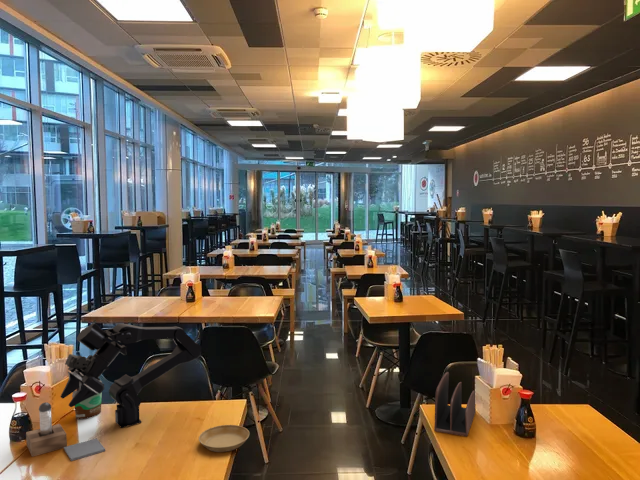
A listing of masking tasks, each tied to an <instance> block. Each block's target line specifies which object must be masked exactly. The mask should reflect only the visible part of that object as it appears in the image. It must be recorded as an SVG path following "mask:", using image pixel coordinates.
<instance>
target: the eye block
mask: <svg viewBox="0 0 640 480" xmlns="http://www.w3.org/2000/svg"><path fill="white" fill-rule="evenodd" d="M25 437H26V438H25V439H26V448H27V449H28V451H29V453H30V455H31V457H33V458H34V457H36V456H39V455H43V454H46V453H51V452H53V451H57V450H62V449H64V447H66V446H68V442H67V441H68V439H67V432H66V430H65V429H64V428H63V426H62V425H61V423H57V424H54V425H53V424H52V434H50V435H46V436H42V437H40V428H38V429H37V428H36V429H34V430H30V431H26V433H25Z"/></svg>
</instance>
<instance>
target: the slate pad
mask: <svg viewBox="0 0 640 480" xmlns="http://www.w3.org/2000/svg"><path fill="white" fill-rule="evenodd" d="M63 449H64V452H65V454H66V455H67V456H68V459H70V461H71V462H72V461H76V460H81V459H82V458H86V457H89V456H93V455H96V454H99V453H103V452H106V448H105V447H104V445H103V444H102V443H101V441H100V440H99V439H98V438H92V439H89V440H85V441H82V442H81V441H80V442H78V443H74V444H70V445H67V446H66V447H64V448H63Z"/></svg>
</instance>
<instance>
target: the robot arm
mask: <svg viewBox="0 0 640 480" xmlns="http://www.w3.org/2000/svg"><path fill="white" fill-rule="evenodd" d="M108 339H109V340H108ZM110 340H111V341H110ZM144 340H173V342H174V344H175V345H176V346H175V348H174V349H173V350H172V352H171V353H169V354H168V355H166V356H165V357H163V358H161V359H160V360H158V361H157V362H155V363H153V364H152V365H150V366H149V367H147V368H145V369H144V370H142V371H140V372H139V373H137V374H135V375H134V376H129V375H128V374H124V375H122V376H121V377H119V378H118V379H115V380H113V381H114V382H113V383H112V384H110V387H109V389H108V394H109V396H110V398H111V399H113V400H114V401H115V402H116V403H117V404H116V409H115V410H114V416H115V417H114V419H115V423H116V424H117V425H118V426H119V427H120V428H127V427H130V426H134V425H137V424H141V423H142V420H141V419H140V405H141V402H142V399H141V398H140V396H138V395H139V394H140V392H141V391H142V389H143V388H144V387H146V386H147V385H149V384H150V383H152V382H153V381H155V380H157V379H158V378H160V377H162V376H163V375H164V374H166V373H168V372H169V371H171V370H172V369H174V368H176V367H178V366H179V365H182V364H186V363H191V362H192V361H194V360H197V359H198V358H199V357H200V356H201V355H202V354H201V353H202V350H203V349H202V346H201V344H199V343H198V342H196V341H194V339H193V338H191V336H190V335H188V334H187V332H186V331H185V330H184V329H183V328H182V327H179V326H176V325H174V326H138V325H134V324H133V325H132V324H127V323H118V324H116V325H115V326H114V327H112V328H109V329H106V330H103V329H102V328H101V327H100V326H99V325H98V324H96V322H92V323H91V324H90V325H87V326H85V328H83V329H81V331H80V332H79V334H78V335H77V337H76V341H78V342H79V343H80V344H81V345H83V346H84V347H86V348H87V349H88V350H90V351H95V350H96V352H95V353H94V354H93V355H92V354H90V355H88V356H87V357H85V356H82V355H76V354H72V353H69V354H68V356H67V358H66V360H65V363H64V365H66V366H67V367H68V368H67V370H68V371H67V376H68V380H67V382H66V384H65V386H64V388H63V391H62V392H61V393H60V396H59V397H60V398H61V399H65V398H67V397H68V396H69V395H71V394H73V392H74V391H77V393H76V394H75V395H74V397H72V399H71V400H70V402H69V403H68V406H69V407H70V408H74V407H75V405H76V404H78V403H80V402H82V401H84V400H86V399H88V398H90V397H92V396H94V395H97V393H96V392H98V393H99V394H100V393H101V392H102V393H103V391H104V390H105V383H104V382H103V381H102V382H100V381H101V379H100V376H101V375H103V373H104V372H105V371H106V372H107V371H109V370H110V367H109V366H110V365H111V364H112V362H113V361H115V359H116V357H117V356H118V355H119V354H120V353H121V354H122V355H123V356H126V355H127V346H125V345H128V344H133V343H138V342H140V341H144ZM118 342H119V343H121V344H122V345H120V344H119V343H118ZM99 380H100V381H99ZM77 389H78V390H77Z"/></svg>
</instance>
